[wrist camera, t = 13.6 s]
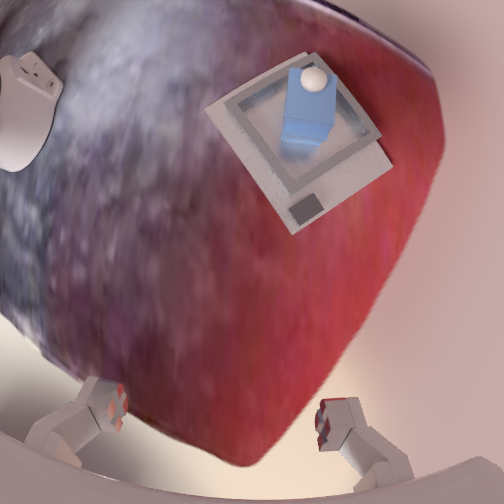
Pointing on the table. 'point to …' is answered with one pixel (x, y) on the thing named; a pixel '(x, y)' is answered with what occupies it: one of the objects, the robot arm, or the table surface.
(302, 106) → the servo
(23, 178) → the table surface
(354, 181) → the grey tray
